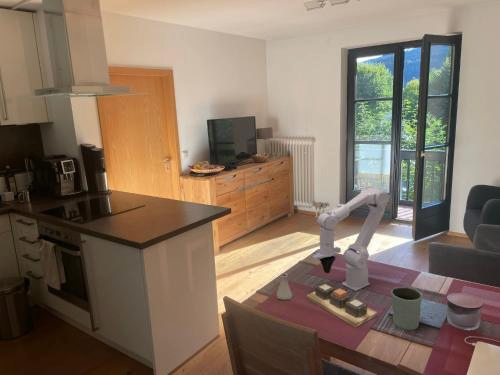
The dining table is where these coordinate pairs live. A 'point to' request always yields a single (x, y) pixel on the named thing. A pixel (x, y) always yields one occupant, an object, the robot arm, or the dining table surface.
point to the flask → (284, 289)
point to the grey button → (356, 303)
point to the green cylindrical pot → (406, 307)
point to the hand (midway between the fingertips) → (326, 272)
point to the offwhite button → (325, 287)
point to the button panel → (341, 306)
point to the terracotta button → (340, 293)
